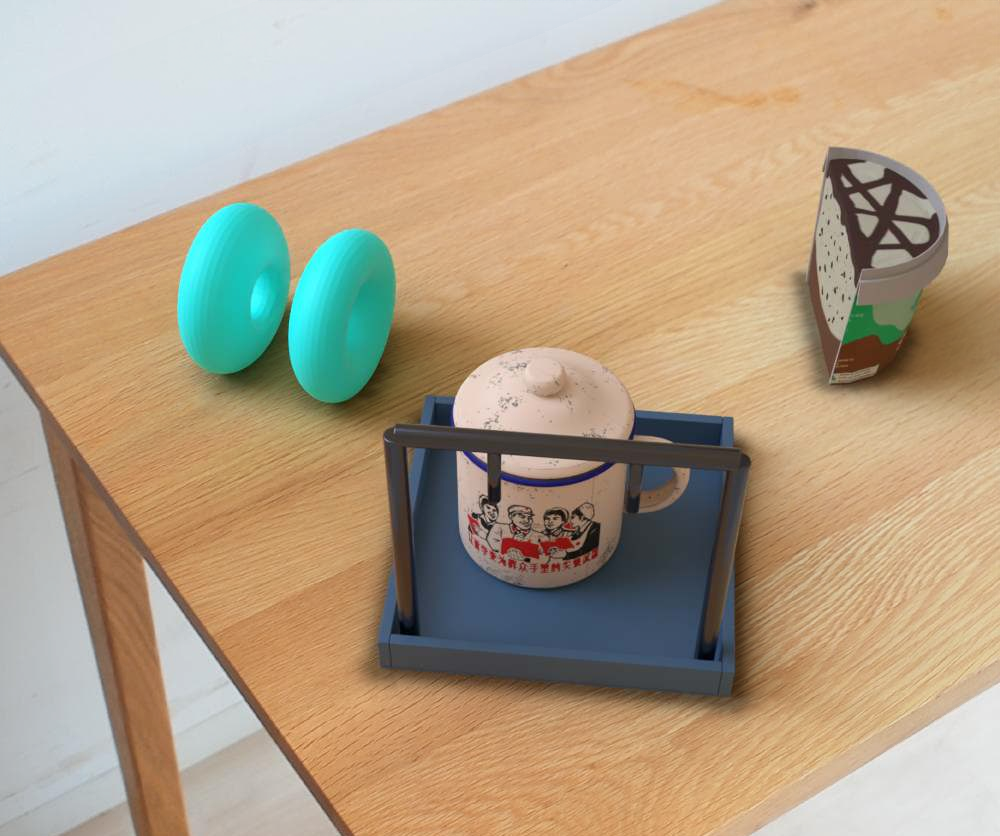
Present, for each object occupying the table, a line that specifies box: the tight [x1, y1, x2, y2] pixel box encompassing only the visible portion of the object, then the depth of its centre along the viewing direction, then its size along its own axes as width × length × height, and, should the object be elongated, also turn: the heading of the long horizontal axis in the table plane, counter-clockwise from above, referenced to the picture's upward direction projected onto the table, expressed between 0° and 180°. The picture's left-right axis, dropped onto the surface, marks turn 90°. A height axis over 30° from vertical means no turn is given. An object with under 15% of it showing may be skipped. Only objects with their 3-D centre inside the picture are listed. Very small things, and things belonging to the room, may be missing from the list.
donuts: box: [176, 202, 397, 404], centre depth 83 cm, size 10×10×10 cm
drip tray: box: [376, 394, 736, 698], centre depth 76 cm, size 17×17×3 cm
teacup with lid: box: [451, 346, 690, 588], centre depth 73 cm, size 12×9×12 cm
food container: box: [805, 145, 950, 386], centre depth 85 cm, size 12×6×10 cm, turn 0°
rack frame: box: [382, 422, 753, 661], centre depth 66 cm, size 15×1×16 cm, turn 84°
